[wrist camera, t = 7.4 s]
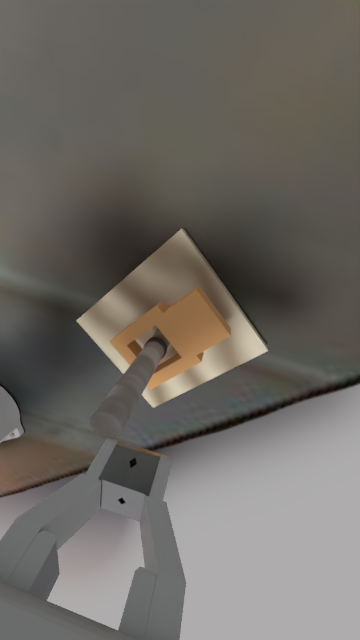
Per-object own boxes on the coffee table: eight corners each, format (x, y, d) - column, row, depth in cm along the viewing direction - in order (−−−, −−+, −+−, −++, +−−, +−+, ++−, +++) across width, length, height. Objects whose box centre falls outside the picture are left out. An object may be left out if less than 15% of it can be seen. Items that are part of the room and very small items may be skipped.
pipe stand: (156, 401, 37) (101, 524, 21) (82, 317, 34) (-44, 389, 18) (266, 345, 29) (305, 474, 14) (184, 228, 26) (113, 226, 10)
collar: (155, 379, 30) (150, 389, 28) (116, 334, 28) (109, 341, 27) (235, 334, 25) (236, 343, 23) (193, 277, 24) (190, 281, 22)
